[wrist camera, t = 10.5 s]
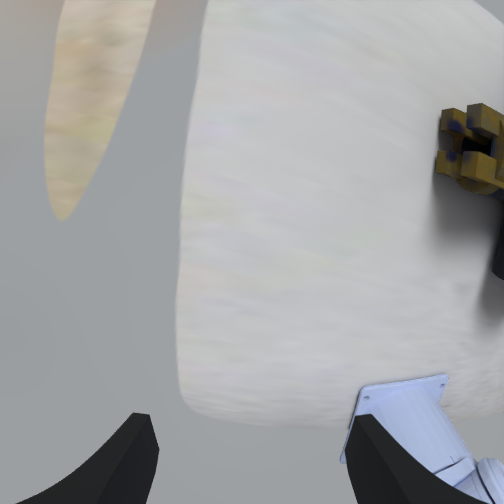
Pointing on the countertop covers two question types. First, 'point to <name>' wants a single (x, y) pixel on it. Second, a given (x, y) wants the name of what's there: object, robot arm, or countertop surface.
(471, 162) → the pipe connector
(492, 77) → the countertop surface
